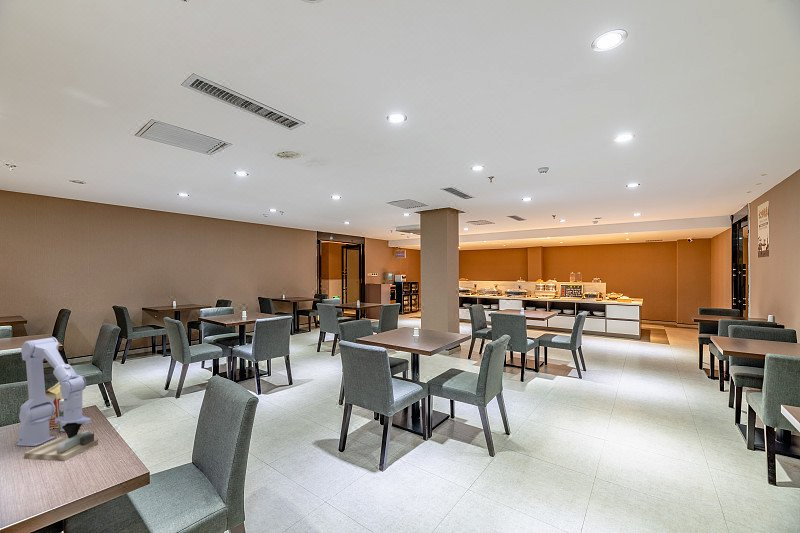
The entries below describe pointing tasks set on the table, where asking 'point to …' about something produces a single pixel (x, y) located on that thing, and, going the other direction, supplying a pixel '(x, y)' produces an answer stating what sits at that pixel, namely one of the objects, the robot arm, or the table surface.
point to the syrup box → (61, 414)
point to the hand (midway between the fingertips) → (72, 440)
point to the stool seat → (50, 452)
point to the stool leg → (70, 442)
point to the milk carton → (56, 396)
